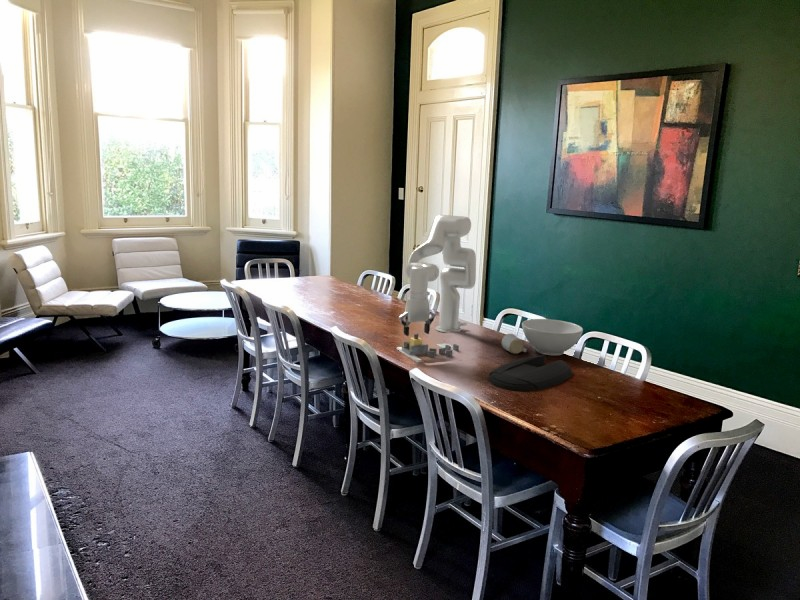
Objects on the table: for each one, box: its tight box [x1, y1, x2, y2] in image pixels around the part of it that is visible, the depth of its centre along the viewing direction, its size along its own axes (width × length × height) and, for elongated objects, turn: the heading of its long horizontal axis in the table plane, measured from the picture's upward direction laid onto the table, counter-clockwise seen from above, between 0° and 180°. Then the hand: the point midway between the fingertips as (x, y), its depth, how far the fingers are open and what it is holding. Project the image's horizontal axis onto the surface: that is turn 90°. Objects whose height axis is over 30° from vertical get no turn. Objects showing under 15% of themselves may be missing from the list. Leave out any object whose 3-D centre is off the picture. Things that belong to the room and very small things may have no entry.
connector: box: [409, 332, 423, 350], centre depth 263 cm, size 4×4×8 cm
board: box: [396, 343, 460, 364], centre depth 267 cm, size 25×20×4 cm
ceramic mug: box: [501, 333, 528, 355], centre depth 275 cm, size 11×8×8 cm
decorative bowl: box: [521, 318, 584, 356], centre depth 277 cm, size 27×27×12 cm
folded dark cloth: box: [488, 355, 573, 392], centre depth 241 cm, size 25×41×5 cm, turn 139°
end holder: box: [401, 340, 429, 356], centre depth 264 cm, size 8×8×4 cm
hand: (416, 334), depth 263 cm, fingers open, 9 cm apart
